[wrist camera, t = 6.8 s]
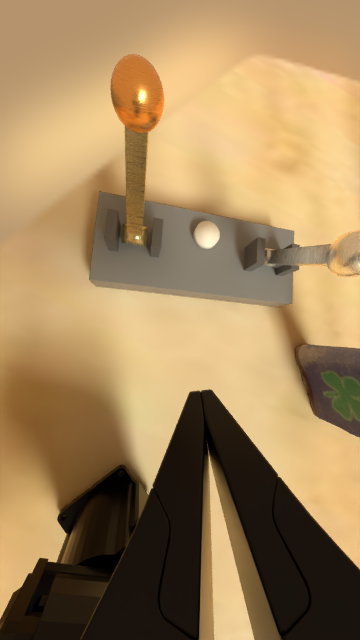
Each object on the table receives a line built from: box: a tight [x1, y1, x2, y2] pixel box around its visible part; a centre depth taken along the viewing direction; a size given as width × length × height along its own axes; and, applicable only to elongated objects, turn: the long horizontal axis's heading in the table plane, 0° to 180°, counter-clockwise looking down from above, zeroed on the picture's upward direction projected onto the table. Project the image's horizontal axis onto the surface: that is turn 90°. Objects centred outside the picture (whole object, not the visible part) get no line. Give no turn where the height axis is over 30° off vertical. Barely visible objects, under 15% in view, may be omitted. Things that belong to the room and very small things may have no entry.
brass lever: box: [111, 54, 164, 247], centre depth 13 cm, size 3×3×10 cm
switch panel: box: [89, 191, 299, 307], centre depth 19 cm, size 20×8×5 cm, turn 85°
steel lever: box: [263, 231, 360, 277], centre depth 15 cm, size 3×3×10 cm
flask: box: [296, 344, 360, 437], centre depth 18 cm, size 9×3×11 cm, turn 18°
